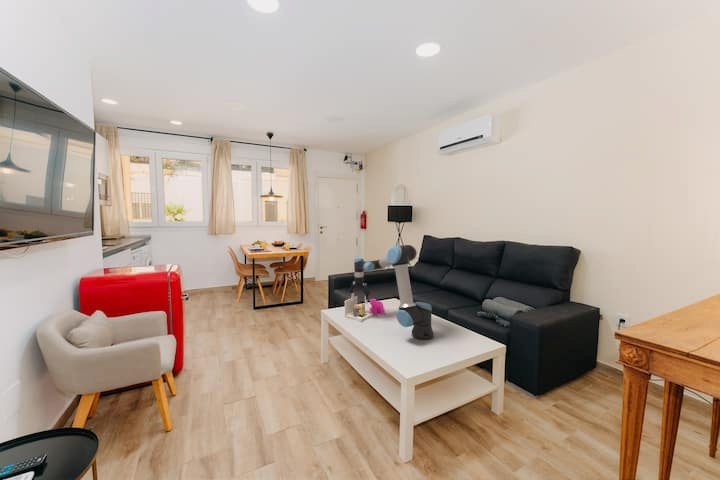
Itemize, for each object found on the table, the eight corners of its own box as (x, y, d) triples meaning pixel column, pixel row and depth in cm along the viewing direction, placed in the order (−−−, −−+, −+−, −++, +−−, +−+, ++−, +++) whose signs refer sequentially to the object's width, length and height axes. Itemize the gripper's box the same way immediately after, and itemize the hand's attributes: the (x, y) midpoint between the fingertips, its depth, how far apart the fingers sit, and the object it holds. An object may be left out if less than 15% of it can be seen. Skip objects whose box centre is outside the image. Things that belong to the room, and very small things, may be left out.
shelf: (372, 316, 243) (372, 299, 241) (361, 321, 230) (361, 304, 229) (356, 312, 253) (356, 296, 252) (344, 317, 240) (344, 300, 239)
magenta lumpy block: (369, 310, 257) (369, 299, 256) (380, 309, 259) (380, 298, 258) (373, 315, 245) (373, 303, 244) (385, 314, 248) (385, 302, 247)
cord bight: (364, 314, 240) (364, 305, 239) (361, 315, 237) (361, 306, 236) (356, 312, 244) (356, 304, 244) (354, 313, 242) (354, 305, 241)
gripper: (374, 277, 233) (374, 303, 235) (350, 274, 248) (350, 298, 250) (368, 279, 228) (369, 305, 229) (344, 275, 242) (345, 300, 244)
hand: (359, 302), depth 240 cm, fingers open, 13 cm apart
